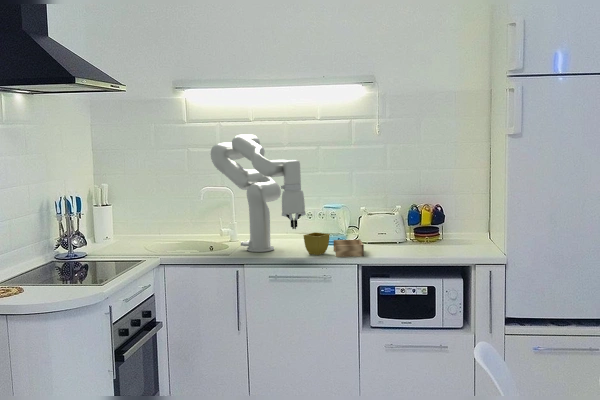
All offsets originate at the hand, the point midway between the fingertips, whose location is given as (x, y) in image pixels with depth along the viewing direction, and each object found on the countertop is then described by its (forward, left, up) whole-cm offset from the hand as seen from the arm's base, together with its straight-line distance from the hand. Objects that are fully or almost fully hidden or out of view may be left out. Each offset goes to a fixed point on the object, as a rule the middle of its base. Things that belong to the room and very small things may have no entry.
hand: (294, 228), depth 291 cm
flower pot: (+10, 0, -12) cm, 16 cm away
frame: (+24, 0, -12) cm, 27 cm away
